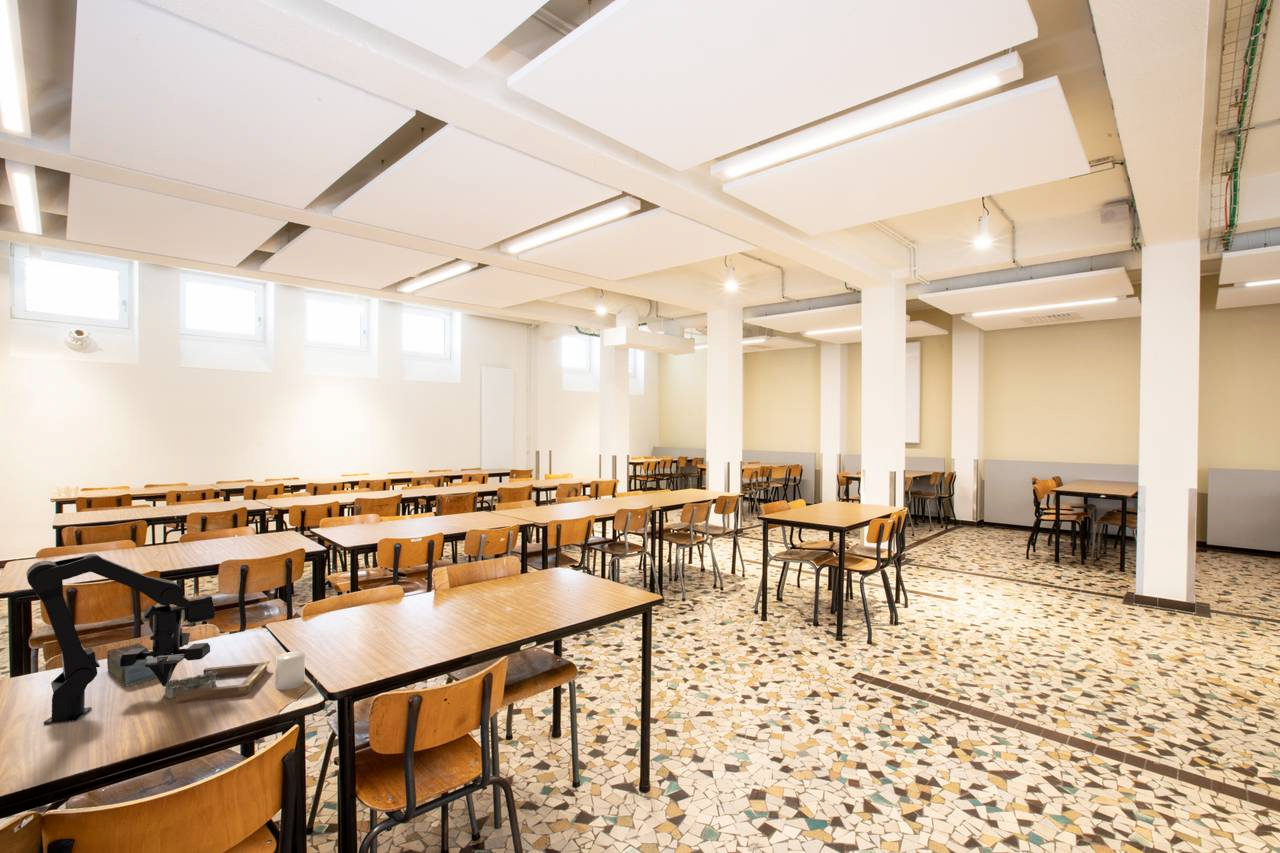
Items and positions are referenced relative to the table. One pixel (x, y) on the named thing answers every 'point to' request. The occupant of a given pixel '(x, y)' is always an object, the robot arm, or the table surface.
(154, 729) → the table surface
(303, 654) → the off-white rounded cube
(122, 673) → the grey-green printed box
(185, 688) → the egg carton
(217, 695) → the frame
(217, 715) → the table surface
